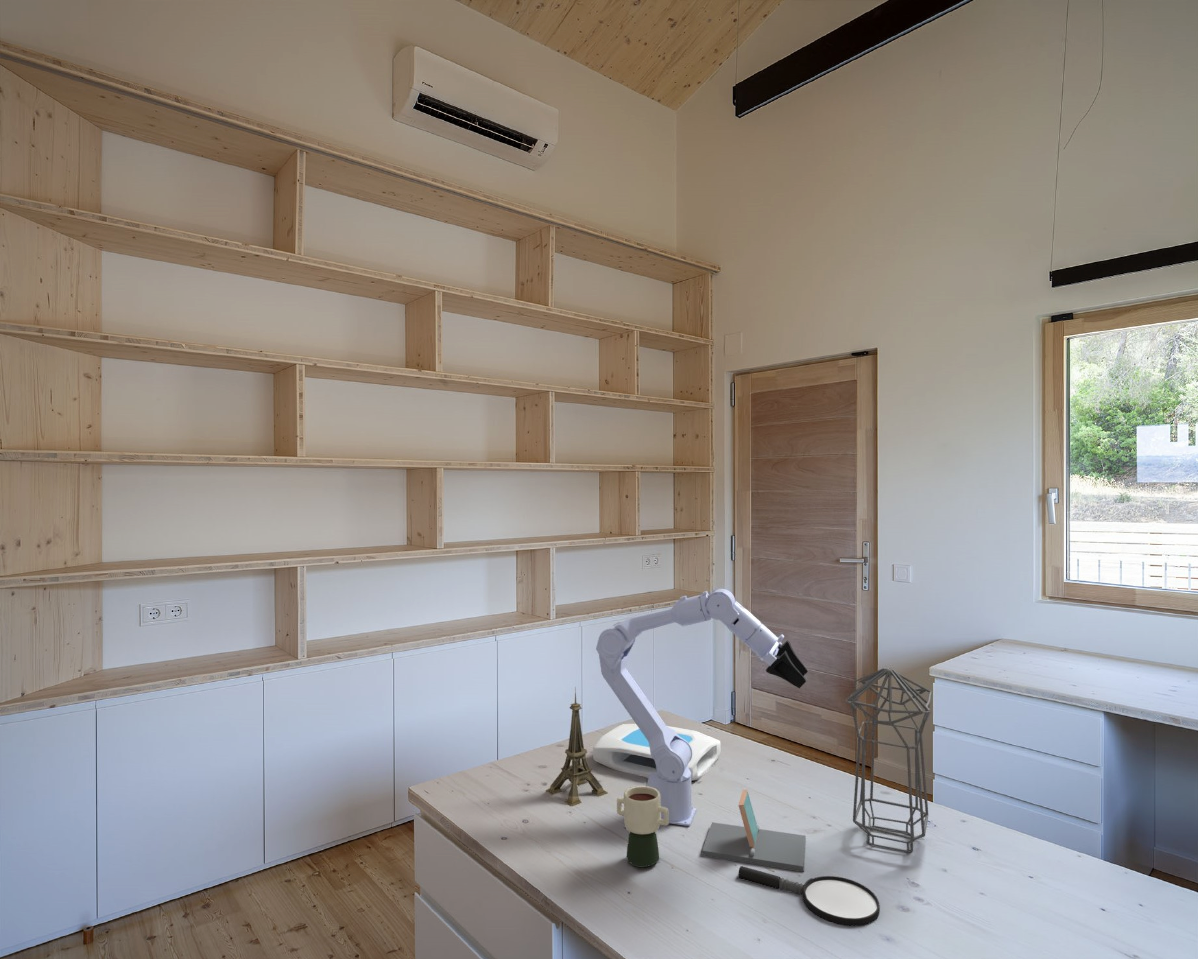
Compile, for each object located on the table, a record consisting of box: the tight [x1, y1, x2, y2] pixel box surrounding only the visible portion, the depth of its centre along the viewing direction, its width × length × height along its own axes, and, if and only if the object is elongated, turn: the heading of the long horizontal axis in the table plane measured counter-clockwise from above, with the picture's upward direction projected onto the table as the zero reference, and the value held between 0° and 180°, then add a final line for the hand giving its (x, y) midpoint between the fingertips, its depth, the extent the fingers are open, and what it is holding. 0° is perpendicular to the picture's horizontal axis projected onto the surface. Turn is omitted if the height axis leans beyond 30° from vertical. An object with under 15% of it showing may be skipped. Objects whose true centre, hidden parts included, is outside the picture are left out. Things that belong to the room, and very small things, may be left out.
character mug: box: [616, 785, 670, 868], centre depth 131 cm, size 11×7×13 cm, turn 62°
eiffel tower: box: [545, 686, 609, 807], centre depth 162 cm, size 11×11×25 cm
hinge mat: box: [701, 822, 807, 873], centre depth 135 cm, size 19×12×2 cm, turn 71°
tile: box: [738, 789, 759, 847], centre depth 136 cm, size 8×7×1 cm
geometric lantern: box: [844, 667, 933, 854], centre depth 138 cm, size 16×16×35 cm
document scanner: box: [592, 723, 722, 782], centre depth 180 cm, size 21×28×6 cm
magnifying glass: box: [738, 865, 881, 927], centre depth 119 cm, size 12×24×2 cm, turn 61°
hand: (803, 679), depth 141 cm, fingers open, 7 cm apart
